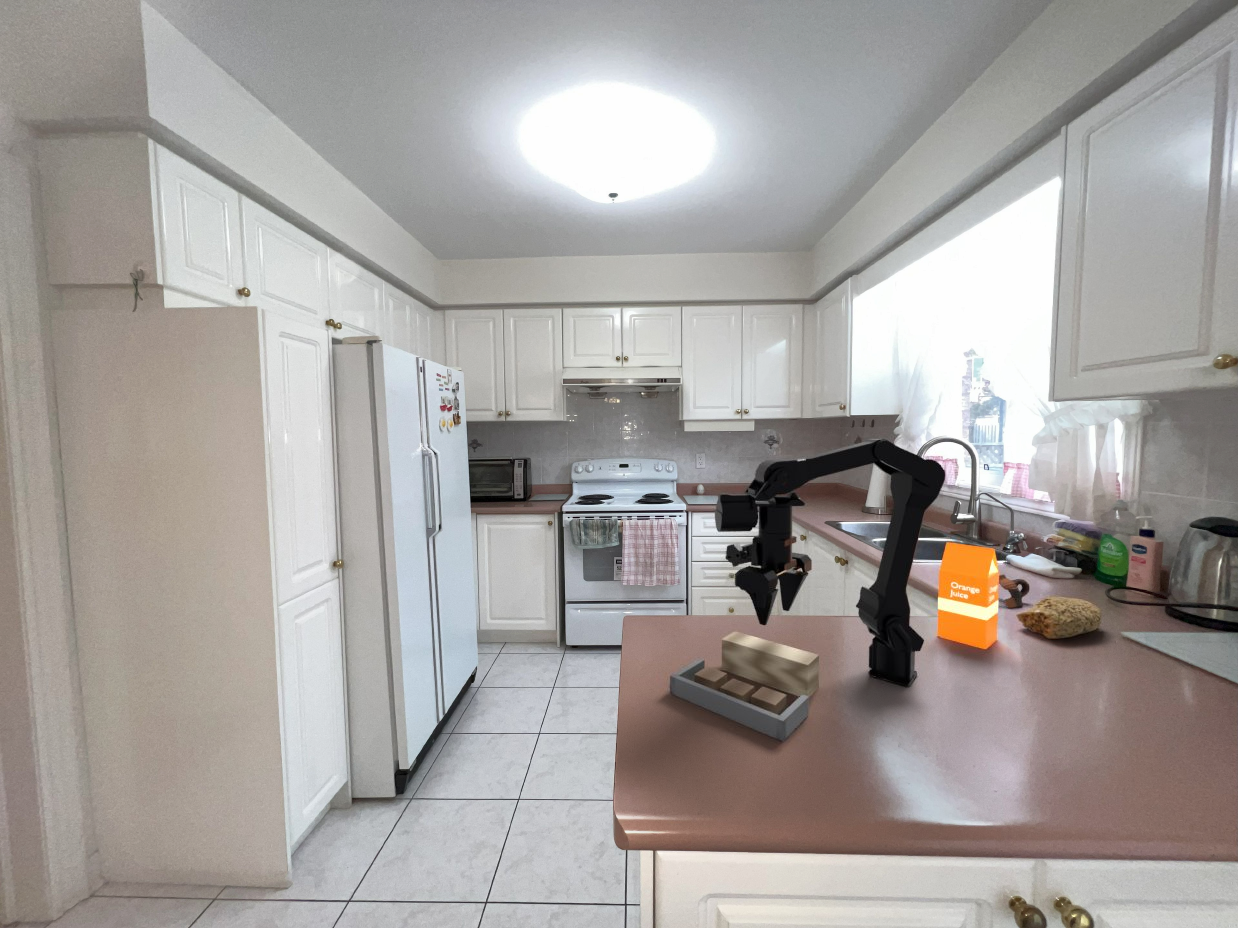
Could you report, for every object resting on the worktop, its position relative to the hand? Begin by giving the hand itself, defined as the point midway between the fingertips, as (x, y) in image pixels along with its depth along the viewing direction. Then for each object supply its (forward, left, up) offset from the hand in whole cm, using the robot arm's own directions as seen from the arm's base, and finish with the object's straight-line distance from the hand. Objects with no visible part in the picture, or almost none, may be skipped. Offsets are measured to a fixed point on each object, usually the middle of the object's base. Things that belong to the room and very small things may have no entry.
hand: (774, 617), depth 89 cm
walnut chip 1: (+6, +12, -11) cm, 17 cm away
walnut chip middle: (0, +13, -11) cm, 17 cm away
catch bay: (+1, +13, -11) cm, 17 cm away
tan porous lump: (-37, -64, -11) cm, 75 cm away
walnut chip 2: (-5, +12, -11) cm, 17 cm away
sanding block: (+1, +1, -11) cm, 11 cm away
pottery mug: (-26, -78, -11) cm, 83 cm away
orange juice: (-22, -44, -11) cm, 50 cm away
